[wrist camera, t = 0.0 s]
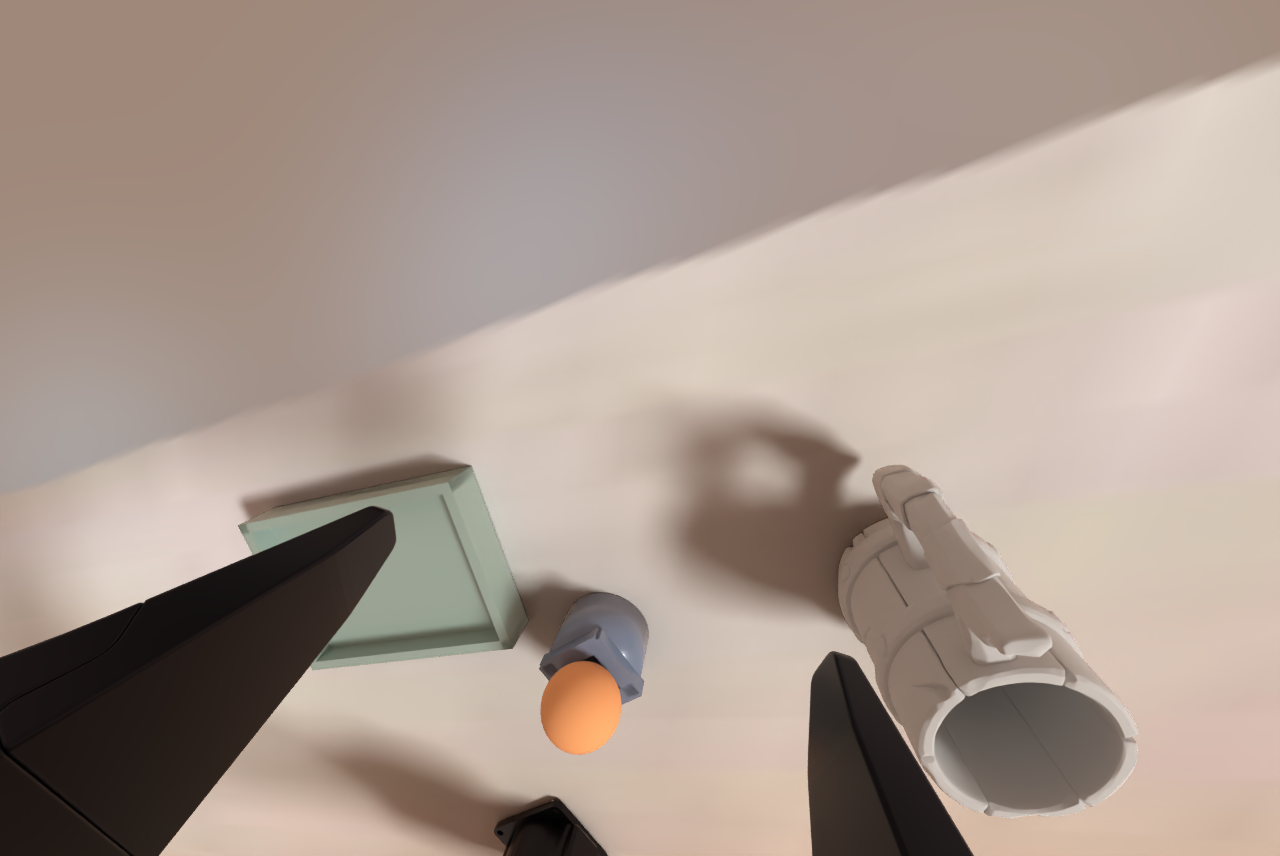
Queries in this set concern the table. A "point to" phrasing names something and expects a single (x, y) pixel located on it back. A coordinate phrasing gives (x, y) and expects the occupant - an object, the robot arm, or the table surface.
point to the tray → (415, 572)
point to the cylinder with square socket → (603, 641)
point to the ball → (580, 707)
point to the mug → (978, 664)
